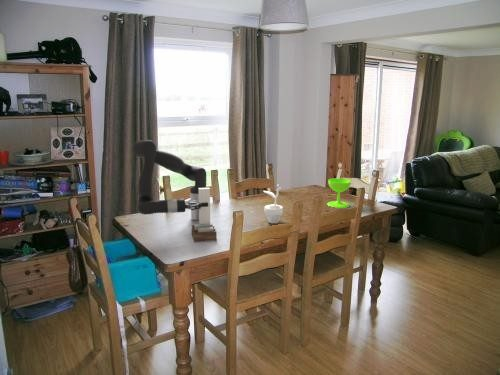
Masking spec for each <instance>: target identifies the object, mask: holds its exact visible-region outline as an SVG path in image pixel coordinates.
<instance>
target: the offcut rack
mask: <svg viewBox="0 0 500 375" xmlns="http://www.w3.org/2000/svg"><path fill="white" fill-rule="evenodd" d="M194 225H195V224H191V235H192V240H193V242H194V243H199V242H210V241H211V242H213V241H217V230H216V228H215V226H214V225H213V231H210V232H198V230H194Z"/></svg>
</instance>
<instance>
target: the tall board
mask: <svg viewBox="0 0 500 375" xmlns="http://www.w3.org/2000/svg"><path fill="white" fill-rule="evenodd" d="M198 190H199V203H208V207H201V208H200V209H199V220H198V225H200V224H211V188H210V187H206V188H198Z"/></svg>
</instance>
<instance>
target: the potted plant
mask: <svg viewBox="0 0 500 375" xmlns="http://www.w3.org/2000/svg"><path fill="white" fill-rule="evenodd" d="M280 185H281V184H279V183H277V184H276V186H277V189H276V190H275V191H276V193H274V192H272V191H268V190H263V193H264V194H267V195H268V196H270V197H271V198H272V199H274V203H272V204H267V205H264V215H265V216H266V218H267V219H266V220H267V222H268V223H270V224H273V223H275V224H278V223H279V222H280V221H281V220H280V219H281V217H282V215H283V214H284V206H283V205H279V204H277V200H278V199H277V198H278V197H279V193H280V190H281V189H282V187H281V186H280ZM279 186H280V187H279Z"/></svg>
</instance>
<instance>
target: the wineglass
mask: <svg viewBox="0 0 500 375" xmlns="http://www.w3.org/2000/svg"><path fill="white" fill-rule="evenodd" d="M327 182H328V186H329V188H330V189H331V190H332V191H333V192H336V193H337V195H336V196H337V197H336V200H332V201H328V202H326V206H327V205H328V207H329V206H331V207H330V208H332V207H335V208H334V209H348V208H350V207H349V205H350V204H349V203H348V202H347V201H346V202H345V201H341V193H343V192H345V191H347V190H348V189H349V188H350V186H351V185H352V180H350V179H348V178H339V177H337V178H329V179H328V181H327ZM347 207H348V208H347Z"/></svg>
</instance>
